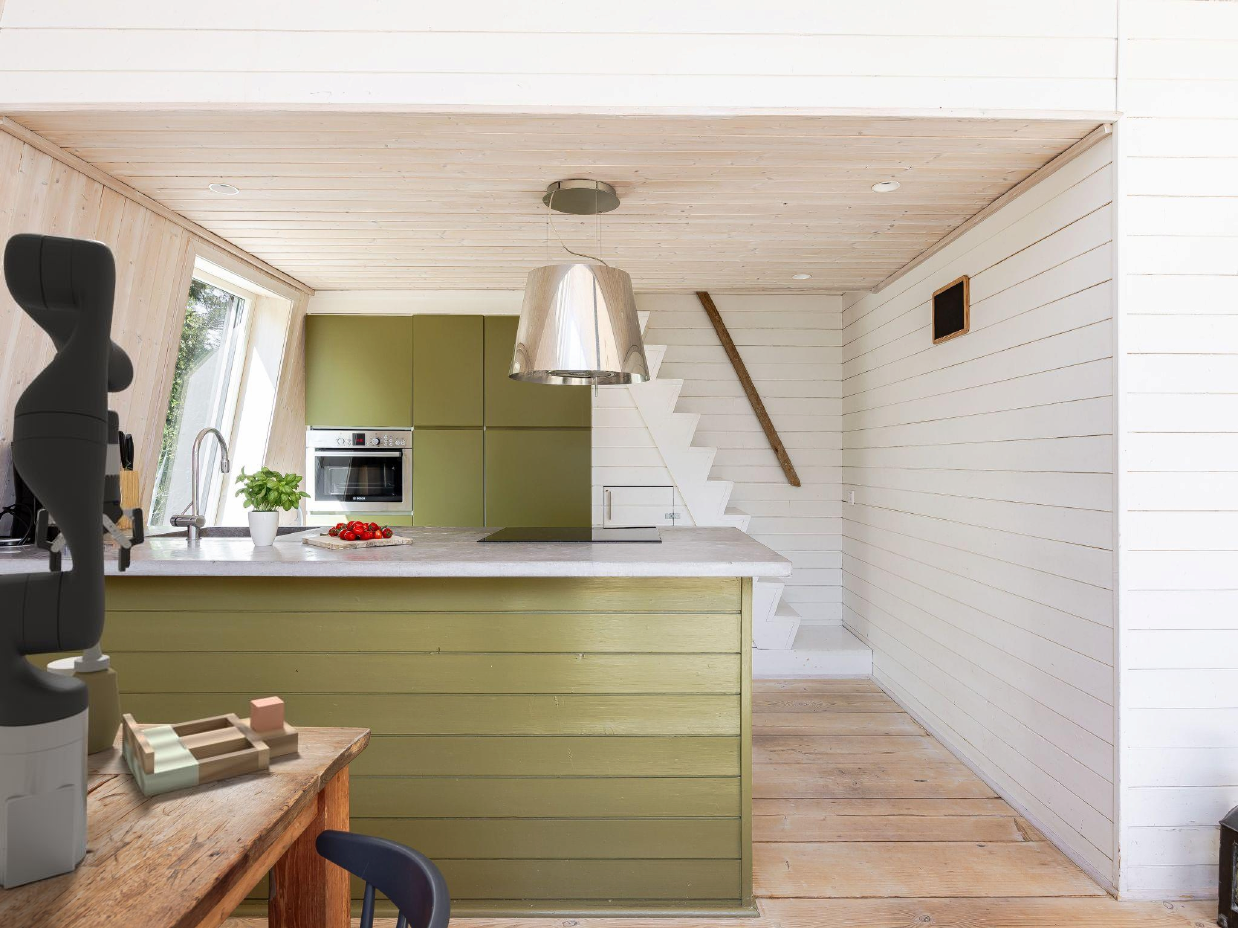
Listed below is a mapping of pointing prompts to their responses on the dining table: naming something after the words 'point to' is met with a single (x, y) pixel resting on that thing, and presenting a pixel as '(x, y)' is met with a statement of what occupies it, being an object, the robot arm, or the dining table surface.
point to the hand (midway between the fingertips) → (90, 573)
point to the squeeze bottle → (99, 698)
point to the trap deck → (200, 751)
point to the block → (266, 714)
